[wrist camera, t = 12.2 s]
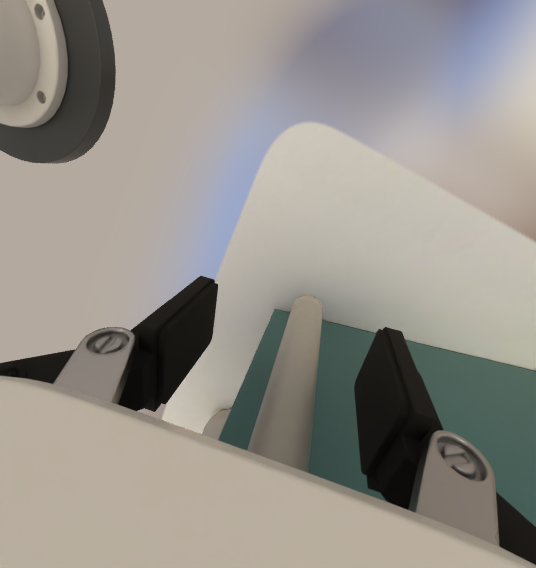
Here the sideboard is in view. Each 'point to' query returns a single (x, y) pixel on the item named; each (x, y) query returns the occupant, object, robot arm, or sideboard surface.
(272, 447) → the fridge door
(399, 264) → the sideboard surface
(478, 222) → the sideboard surface
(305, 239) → the sideboard surface
